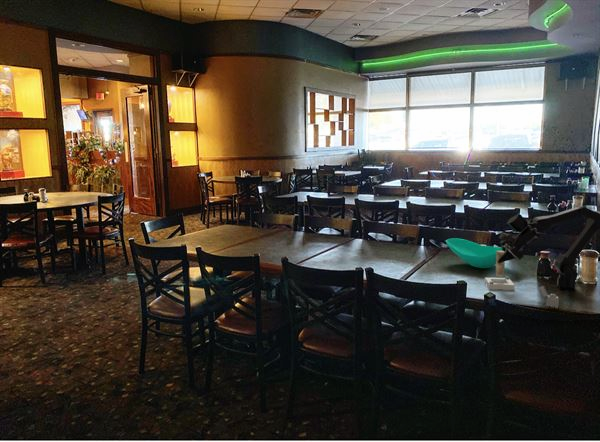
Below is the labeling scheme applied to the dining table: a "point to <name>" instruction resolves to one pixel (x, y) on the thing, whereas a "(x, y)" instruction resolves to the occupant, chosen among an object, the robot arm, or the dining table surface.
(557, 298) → the grey notched flat piece
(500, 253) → the wooden cylinder
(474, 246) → the table top decor
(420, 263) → the dining table surface
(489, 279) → the housing
